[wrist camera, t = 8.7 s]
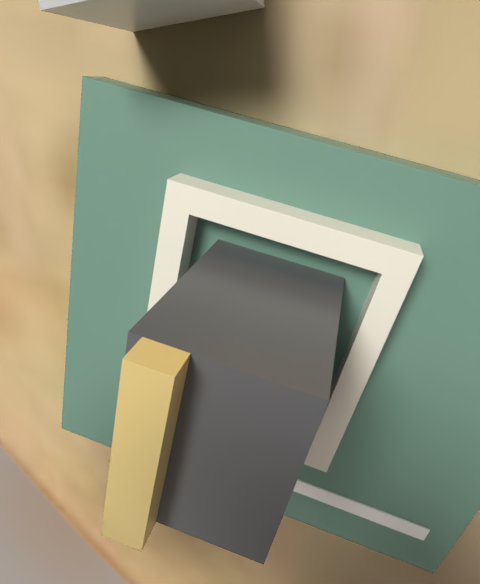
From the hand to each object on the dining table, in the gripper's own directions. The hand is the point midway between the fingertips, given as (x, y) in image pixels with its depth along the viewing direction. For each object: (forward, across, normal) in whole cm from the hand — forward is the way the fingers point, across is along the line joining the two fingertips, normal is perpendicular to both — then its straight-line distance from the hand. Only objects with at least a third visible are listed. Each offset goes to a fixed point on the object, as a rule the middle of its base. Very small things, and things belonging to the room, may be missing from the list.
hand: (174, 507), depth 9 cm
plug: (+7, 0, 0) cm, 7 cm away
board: (+8, -1, +1) cm, 9 cm away
